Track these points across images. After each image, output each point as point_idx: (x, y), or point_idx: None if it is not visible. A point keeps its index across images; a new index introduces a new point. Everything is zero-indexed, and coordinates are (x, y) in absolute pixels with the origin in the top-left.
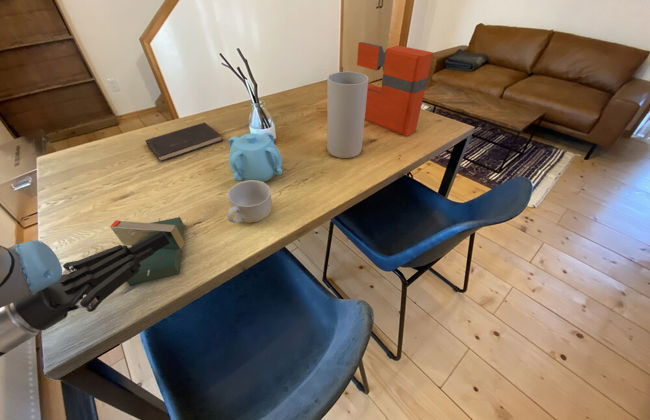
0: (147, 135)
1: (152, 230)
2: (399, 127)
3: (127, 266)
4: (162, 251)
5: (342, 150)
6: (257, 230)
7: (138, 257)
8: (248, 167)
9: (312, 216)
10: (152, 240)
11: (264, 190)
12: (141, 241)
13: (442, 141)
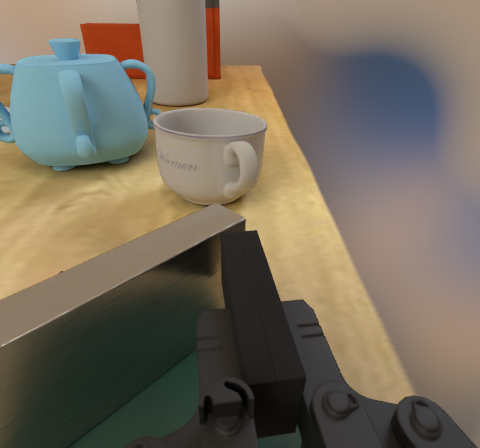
0: None
1: (167, 261)
2: (208, 68)
3: (456, 444)
4: (196, 371)
5: (194, 87)
6: (268, 203)
7: (338, 377)
8: (109, 110)
9: (296, 153)
10: (259, 270)
11: (203, 129)
12: (197, 328)
13: (260, 74)
